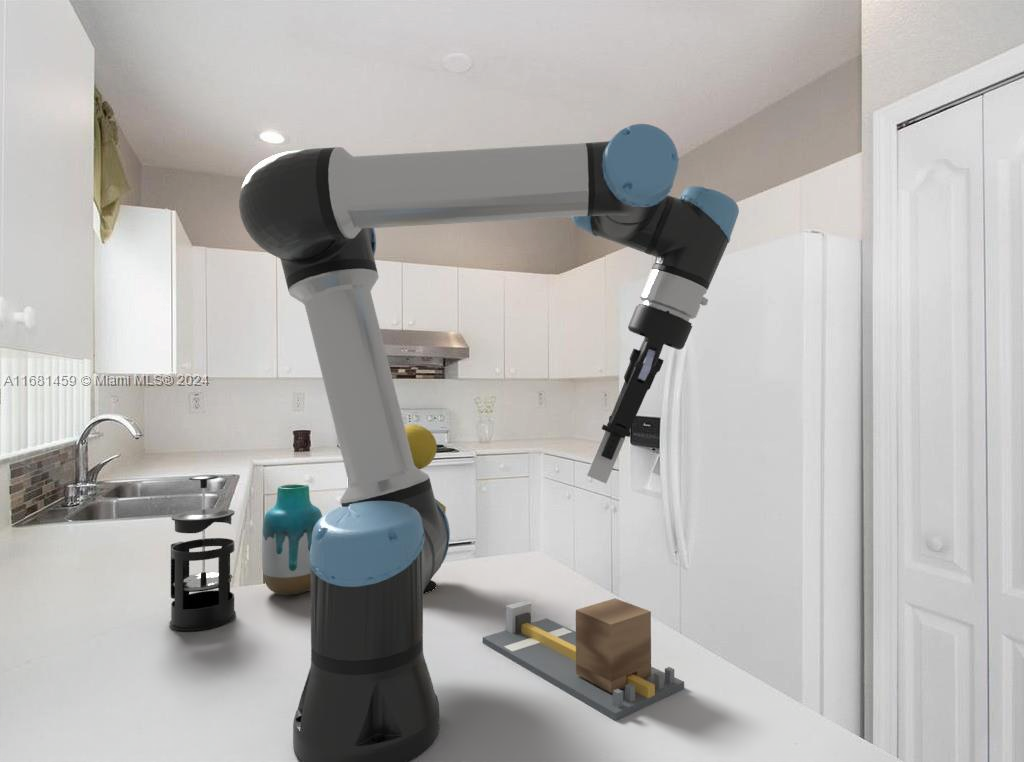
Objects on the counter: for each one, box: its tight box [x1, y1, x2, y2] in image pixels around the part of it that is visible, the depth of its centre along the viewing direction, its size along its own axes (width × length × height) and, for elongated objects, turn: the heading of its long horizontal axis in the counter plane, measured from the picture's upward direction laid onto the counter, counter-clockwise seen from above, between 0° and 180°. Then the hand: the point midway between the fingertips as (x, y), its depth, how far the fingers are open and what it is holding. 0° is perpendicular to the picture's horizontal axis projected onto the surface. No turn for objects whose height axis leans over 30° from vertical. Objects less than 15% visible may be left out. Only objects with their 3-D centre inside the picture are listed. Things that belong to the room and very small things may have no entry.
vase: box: [261, 483, 323, 596], centre depth 111 cm, size 11×11×19 cm
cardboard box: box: [575, 597, 652, 693], centre depth 76 cm, size 6×7×8 cm
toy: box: [404, 424, 447, 595], centre depth 115 cm, size 16×12×30 cm
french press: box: [169, 474, 237, 633], centre depth 97 cm, size 12×9×23 cm
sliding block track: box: [482, 600, 685, 721], centre depth 81 cm, size 26×12×4 cm, turn 37°
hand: (596, 478), depth 81 cm, fingers closed
